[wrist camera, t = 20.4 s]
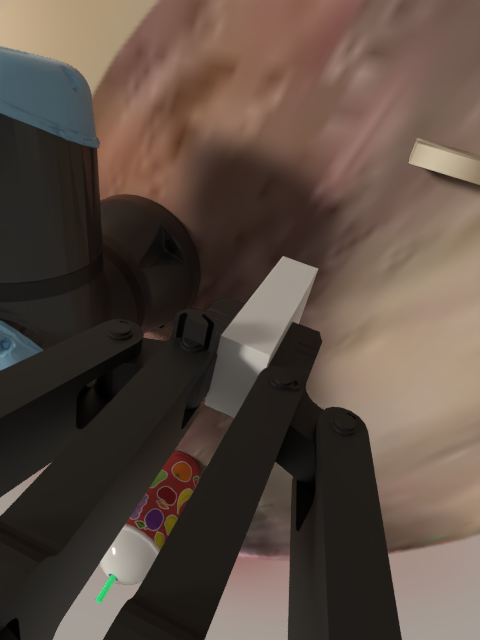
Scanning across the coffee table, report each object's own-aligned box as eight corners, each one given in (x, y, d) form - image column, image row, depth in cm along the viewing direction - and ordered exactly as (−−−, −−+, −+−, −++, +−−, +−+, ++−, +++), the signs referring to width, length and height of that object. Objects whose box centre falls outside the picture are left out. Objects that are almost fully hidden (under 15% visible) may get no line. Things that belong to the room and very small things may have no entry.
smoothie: (167, 485, 68) (84, 618, 52) (148, 442, 65) (53, 569, 48) (216, 489, 64) (143, 633, 48) (198, 443, 61) (114, 581, 45)
